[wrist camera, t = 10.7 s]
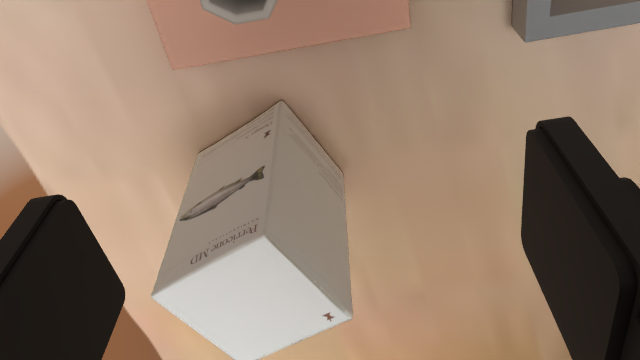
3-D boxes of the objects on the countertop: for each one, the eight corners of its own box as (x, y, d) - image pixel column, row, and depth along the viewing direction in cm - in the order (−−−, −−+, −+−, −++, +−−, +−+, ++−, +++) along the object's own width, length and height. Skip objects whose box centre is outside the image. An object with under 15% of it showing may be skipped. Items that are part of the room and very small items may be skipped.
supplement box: (282, 95, 33) (268, 232, 23) (346, 174, 36) (358, 323, 26) (193, 151, 35) (144, 297, 25) (261, 219, 39) (243, 372, 29)
